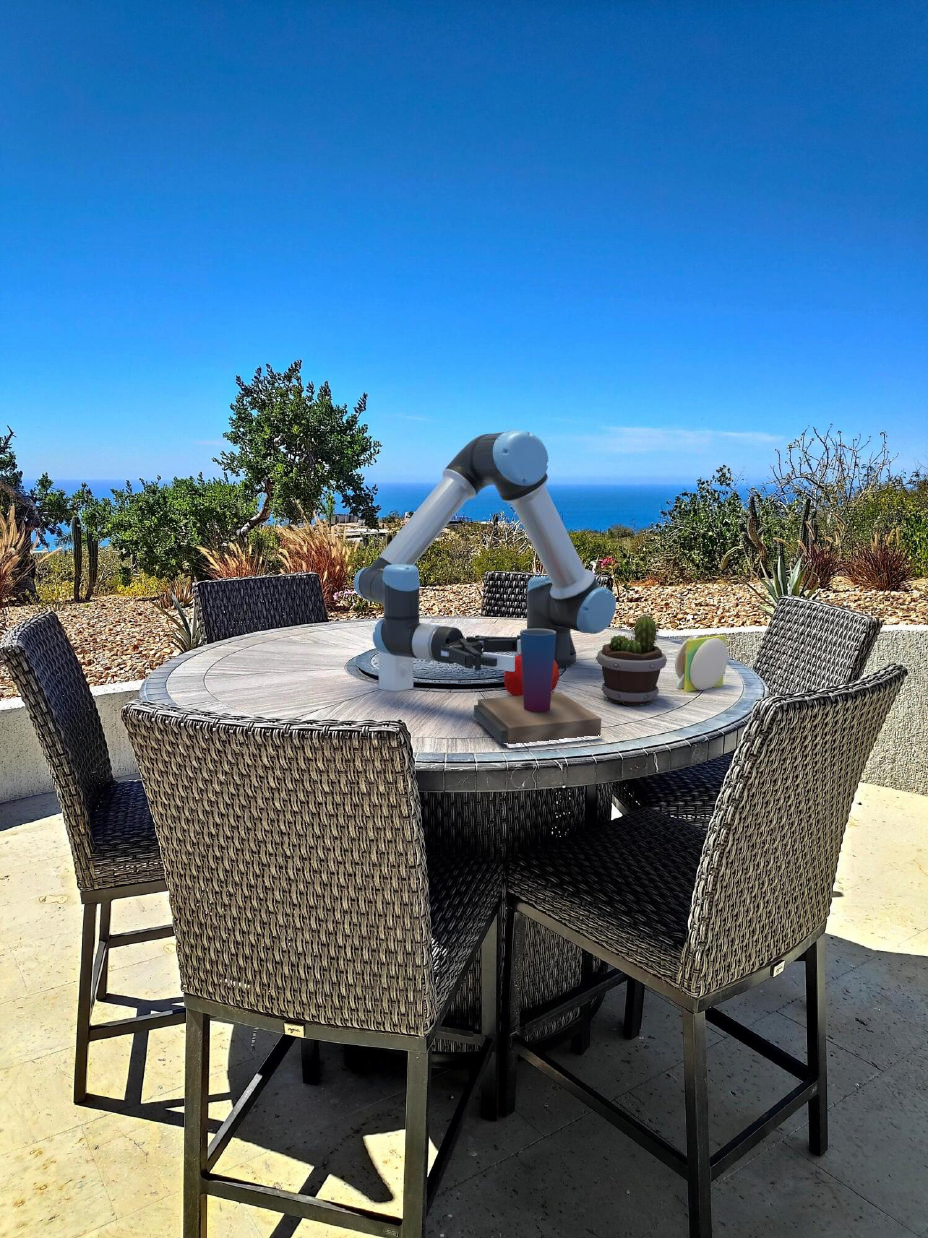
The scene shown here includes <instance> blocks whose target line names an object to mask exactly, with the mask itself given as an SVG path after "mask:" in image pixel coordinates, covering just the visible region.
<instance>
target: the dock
mask: <svg viewBox="0 0 928 1238" xmlns="http://www.w3.org/2000/svg"><path fill="white" fill-rule="evenodd" d="M473 717H474V719H475V720H477V722H479V723H480V725H481V726H483V728H484V729H486V730H487V732H489V734H491V736H493V738H494V739H496V741H497V742H499V743H500V744H501V743H508V744H516V743H529V742H537V741H549V740H559V739H564V738H577V737H584V736H598V735H599V736H600V735H601V736H602V731H601V730H602V718H601V717H599V716H598V715H596V714H595V713H593V712H592V711H590V710H589V709H587V708H586V707H585V706H583V705H581V704H580V703H578V702H577V701H575V700H573V699H572V698H570V697H569V696H568V695H565V694H564V693H563V692H560V691H559V692H551V702H550V710H548V711H545V712H531V711H527V710H525V709H524V702H523V696H512V695H511V696H502V697H492V698H481V699H477V704H474V705H473Z"/></svg>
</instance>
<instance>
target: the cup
mask: <svg viewBox="0 0 928 1238" xmlns="http://www.w3.org/2000/svg"><path fill="white" fill-rule="evenodd" d="M519 635H520V642H521V662H522V682H523V702H524V709H525V710H527V711H531V712H545V711H548V710H550V702H551V693H552V692H551V690H552V678H553V666H554V654H555V641H556V631H554V630H550V629H527V628H526V629H521V630H520V631H519Z"/></svg>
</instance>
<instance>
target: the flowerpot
mask: <svg viewBox="0 0 928 1238" xmlns="http://www.w3.org/2000/svg"><path fill="white" fill-rule="evenodd" d="M642 614H643V615H642ZM656 623H659V621H658V620H656V618H655V620H654V618H652V613H651V612H648V610H646V611H645V612H641V613H640V615H639V616H637V618H635V619H634V623H633V624H634V625H633V624H632V625H631V628H632V629H630V630H632V632H633V633H631V634H629V635H627V636H628V637H626V635H622V632H620V633H619V634H618V633H616V632H614V633H613V635H612V634H611V635H610V636H612V637H610V642H609V643H607V644H603V645H602V649H601V650H598V651H597V655H596V656H595V660H597V663H598V664H599V665H600V666H601V673H602V677H603V683H602V684H601V688H600V689H601V691H602V692H603V695H604V696H605V697H606V699H607V701H609V702H611V703H614V704H618V703H622V704H623V705H624V706H636V707H638V706H646V705H649V704H652V702H653V700H654V699H655V698H657V696H658V694H659V693H660V691H659V690H660V689H659V687H658V685H657V683H658V681H659V678H660V673H661V670H662V669H664V668H665V667H666V665H667V661H668V659H667V656H666V655H665V653H663V651H662V649H660V647H659V646H658V645H656V643H658V639H659V635H660V633H659V632H660V628H659V626H661V625H659V624H656ZM615 634H616V635H615Z"/></svg>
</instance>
